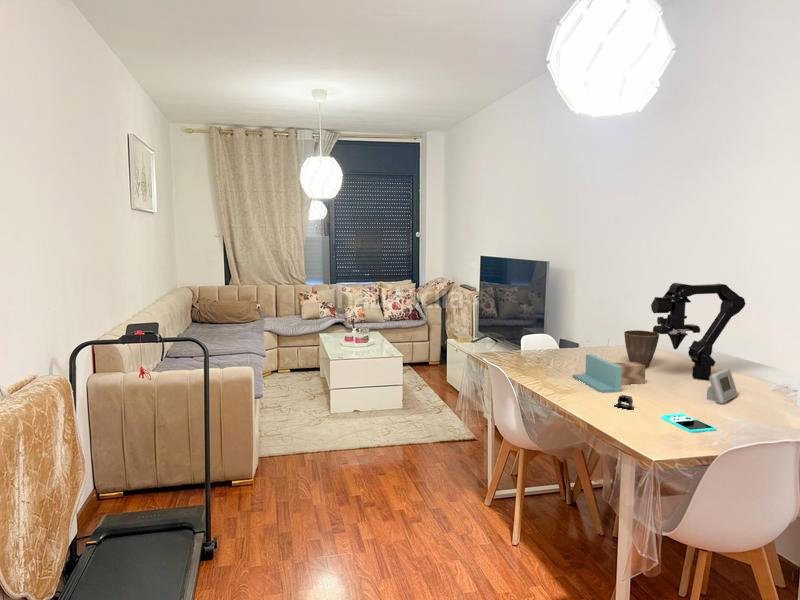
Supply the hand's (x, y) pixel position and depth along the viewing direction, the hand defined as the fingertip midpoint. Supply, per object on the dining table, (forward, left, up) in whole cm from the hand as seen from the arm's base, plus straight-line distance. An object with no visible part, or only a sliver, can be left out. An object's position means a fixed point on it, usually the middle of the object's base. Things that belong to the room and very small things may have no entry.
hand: (675, 349), depth 244 cm
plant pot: (+14, -17, -13) cm, 26 cm away
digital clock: (-17, +25, -13) cm, 33 cm away
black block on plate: (+16, +50, -14) cm, 55 cm away
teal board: (+30, +22, -13) cm, 39 cm away
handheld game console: (-3, +60, -14) cm, 62 cm away
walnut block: (+20, +15, -13) cm, 28 cm away
